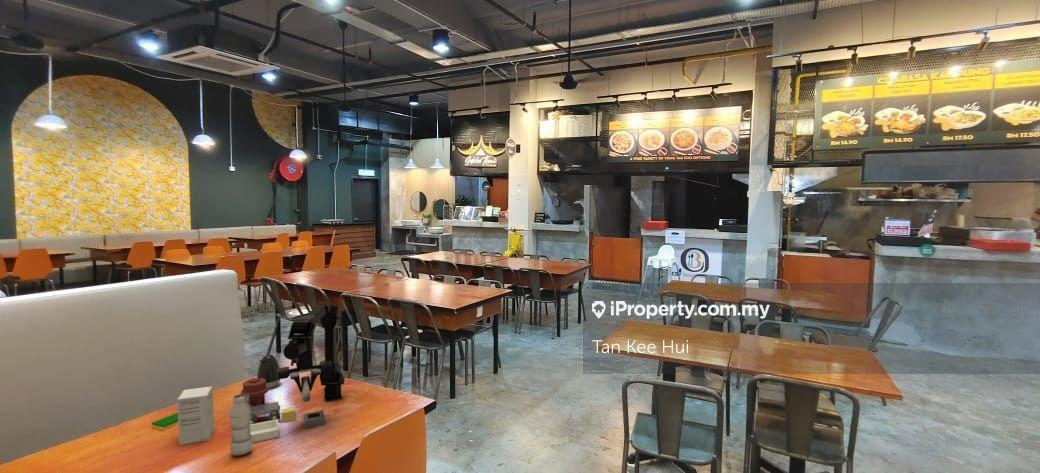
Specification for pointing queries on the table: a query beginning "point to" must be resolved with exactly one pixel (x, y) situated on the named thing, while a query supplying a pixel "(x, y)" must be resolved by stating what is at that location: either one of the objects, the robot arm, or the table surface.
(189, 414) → the supplement box
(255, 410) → the trolley
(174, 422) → the dish sponge
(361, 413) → the table surface
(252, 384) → the mechanical component
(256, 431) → the tray
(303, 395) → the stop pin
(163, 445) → the table surface
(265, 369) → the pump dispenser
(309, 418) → the pin bracket
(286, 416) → the block
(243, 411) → the plastic bottle
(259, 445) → the table surface
